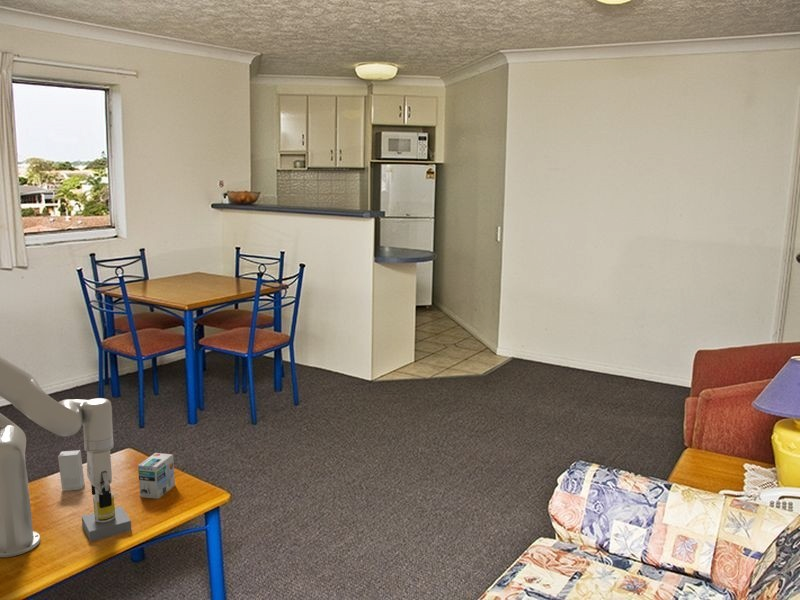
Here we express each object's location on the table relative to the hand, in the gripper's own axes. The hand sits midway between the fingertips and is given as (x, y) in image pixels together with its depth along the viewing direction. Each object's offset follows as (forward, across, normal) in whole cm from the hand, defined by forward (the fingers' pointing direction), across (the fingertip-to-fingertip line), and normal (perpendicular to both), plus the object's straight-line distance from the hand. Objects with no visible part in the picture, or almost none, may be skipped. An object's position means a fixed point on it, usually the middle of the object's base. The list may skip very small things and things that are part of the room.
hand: (101, 500), depth 202 cm
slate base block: (+9, 0, +1) cm, 9 cm away
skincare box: (+9, -34, -2) cm, 35 cm away
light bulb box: (+9, -16, +20) cm, 27 cm away
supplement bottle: (+6, 0, +1) cm, 6 cm away
